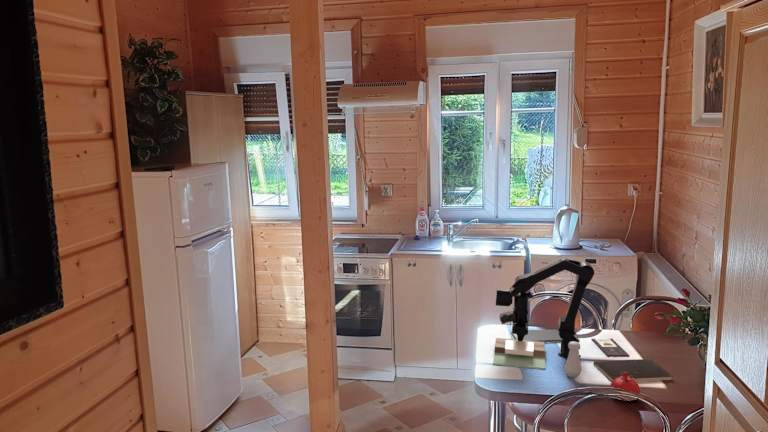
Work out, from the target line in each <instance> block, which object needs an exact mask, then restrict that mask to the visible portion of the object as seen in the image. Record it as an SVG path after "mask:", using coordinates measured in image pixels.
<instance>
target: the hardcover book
mask: <svg viewBox="0 0 768 432" xmlns="http://www.w3.org/2000/svg"><path fill="white" fill-rule="evenodd" d="M593 366H595V367H596V368H597V370H599V371H600V372H601V373H602V374H603V375H604V376H605V377H606V378H607V379H608V380H609V381H610V382H612V381H613V380H615V379H616V378H615V377H621V376H622V375H620V374H623V375H624V376H625V374H624V372H627V377H628V376H630V375H631V376H632V377H631V376H630V377H629V378H635V379H634V380H635V382H651V381H652V382H653V381H654V382H655V381H672V378H673V375H672V374H671V373H669V372H668V371H667V370H666V369H664V368H663V367H662V366H661V365H659V364H658V363H656V362H655V360H653V359H651V358H643V359H641V358H640V359H618V360H615V359H613V360H594V361H593ZM637 379H638V380H637Z"/></svg>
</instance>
